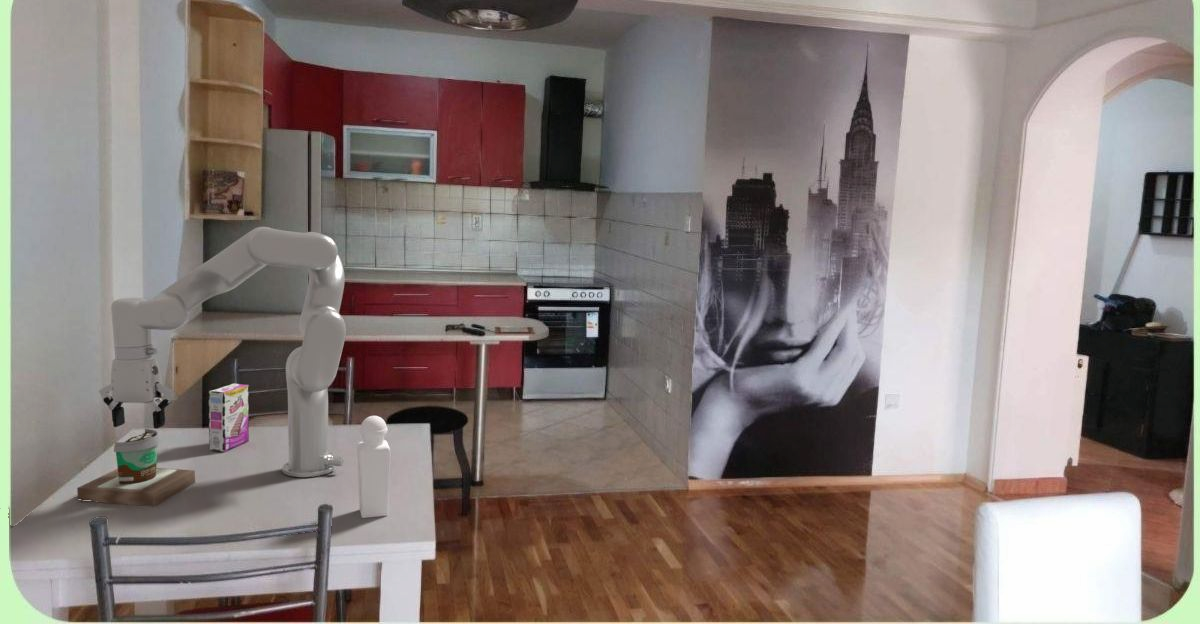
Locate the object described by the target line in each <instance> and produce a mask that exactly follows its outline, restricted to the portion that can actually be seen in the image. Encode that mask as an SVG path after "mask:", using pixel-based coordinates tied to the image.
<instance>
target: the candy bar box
mask: <svg viewBox="0 0 1200 624" xmlns="http://www.w3.org/2000/svg"><path fill="white" fill-rule="evenodd" d="M249 403H250V402H249V384H244V383H243V384H242V383H231V384H227V385H225V386H222V387H218V388H215V389H212V390H209V391H208V439H209V441H208V443H209V445H208V446H209V447H208V449H209V451H211V452H212V451H213V452H217V453H218V452H219V453H226V452H227V451H230V450H232V449H234V448H236V447H239V446H240V445H244V444H246V443H248V442H249V440H250V439H249V437H250V436H249V435H250V431H249V428H250V427H249V417H250V416H249Z"/></svg>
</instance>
